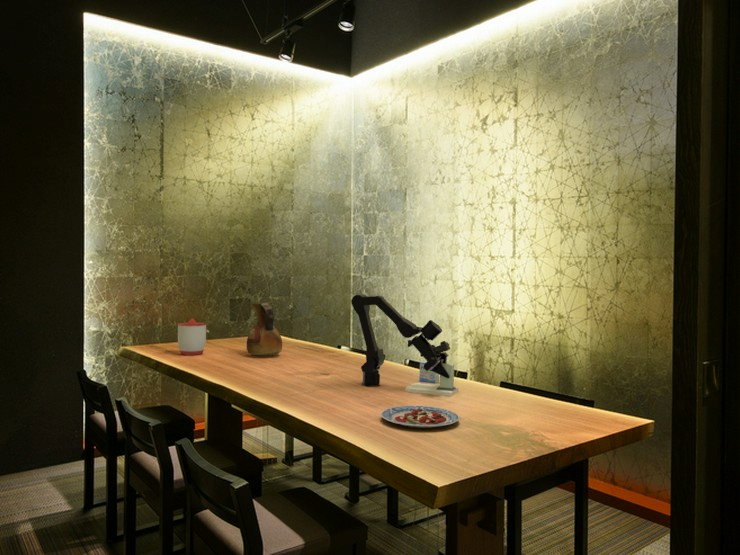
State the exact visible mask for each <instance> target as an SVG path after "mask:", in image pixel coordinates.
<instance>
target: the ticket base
mask: <svg viewBox="0 0 740 555" xmlns="http://www.w3.org/2000/svg"><path fill="white" fill-rule="evenodd" d="M439 387H440V384H439V385H438V384H432V383H430V384H429V383H419V382H414V383H412V384H409V385H408V386H406V387H405V393H415V394H422V393H423V395H431V396H432V395H433V396H440V397H441V396H442V397H443V396H444V397H453V395H455V394H457V392H459V387H458V386H454V388H453V389H442V388H439Z"/></svg>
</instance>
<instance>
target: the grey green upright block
mask: <svg viewBox="0 0 740 555" xmlns="http://www.w3.org/2000/svg"><path fill="white" fill-rule="evenodd" d="M443 367H444V368H445V370H446V371H447V373H448V374H449V376H450V377H449V378H446V377H444V376H441V375H439V385H440V387H439V388H442V389H453V388H454V387H455V363H454V364H453V363H447V364H445V363H443Z"/></svg>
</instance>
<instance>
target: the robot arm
mask: <svg viewBox="0 0 740 555" xmlns="http://www.w3.org/2000/svg"><path fill="white" fill-rule="evenodd" d="M350 302H351V305H352V308H353V310H354V312H355V314H357V316H358V319H359V323H360V327H361V332H362V335H363V339H364V344H365V347H366V350H365V351H366V352H365V362H364V363H363V364H362V365H361V367H360V369H361V372H362V382H361V384H362V385H363V386H364V387H376V386H377V387H380V386H381V382H380V381H381V378H380V377H381V374H380V371H379V370H380V369H381V366H383V364H384V362H385V359H386V356H385V353H384V349H383V348H379V346H378V344H377V340H376V336H375V332H374V329H373V325H372V324H373V323H372V321H371V316H370V310H371V309H370V307H371V306H376V307H378V309H380V311H381V312H382V313H384V315H386V316H387V317H388V318H389V319H390V321H392V322H393V324H394V325H395V326H396V328H397V330H398V331H399V333H400V335H402V337H403V338H404V339H408V340H407V348H409V347H412V346H413V347H414V348H415V349H416V351H418V352H419V353H420V354H419V355H420V357H423V358H424V360H425V362H426V363H425V364H424V369H425V370H426V371H428V370H430V368H431V367H432V369H431V370H430V371H433V372H435V373H437V374H439V376H440V375H441V376H444V377H446V378H449V377H450V376H449V374H448V373H447V371H446V370H445V368H444V367H443V363H445V364H448V363H447V362H448V357H449V354H448V353H447V352H448V351H450V350H451V347H450V343H449V342H447V341H445V340H444V341H440V344H439V345H437V346H436V345H434V344H431V343H430V342H429V341H434V340H435V339H436V338H437V337H438V336H439V335H441V333H442V332H443V329H442V327H441V326H440V325H439V324H437V323H436V322H435V321H433V320H432V319H429V320H428V321H427V323H425V325H424V326H423V327H421V326H417V325H416V324H415V323H413V322H412V321H411V320H409V319H407V318H406V317H404V316H403V315H402V314H400V312H399V311H398V310H396V309H395V307H393V306H392V304H390V303H389V301H387V300H386V299H385V297H384V296H383V295H374V296H372V295H371V296H368V295H366V294H355V295H354V296H352V299H351V300H350ZM418 334H419V335H418ZM410 338H411V339H410Z"/></svg>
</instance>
